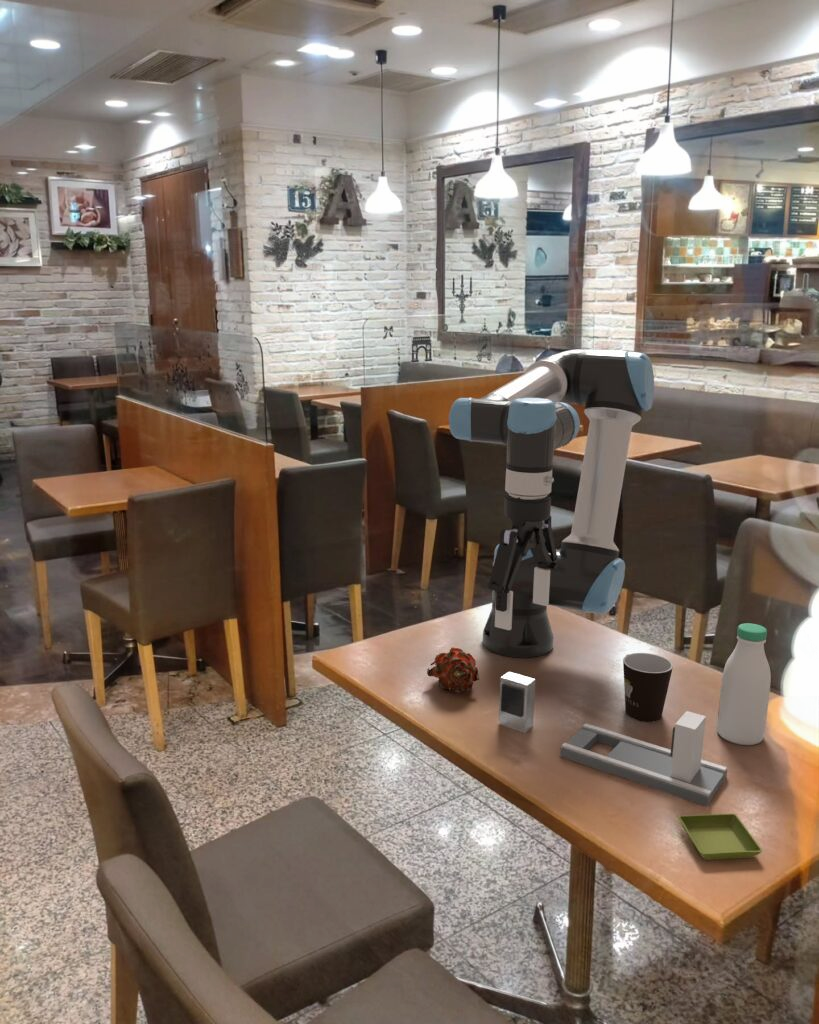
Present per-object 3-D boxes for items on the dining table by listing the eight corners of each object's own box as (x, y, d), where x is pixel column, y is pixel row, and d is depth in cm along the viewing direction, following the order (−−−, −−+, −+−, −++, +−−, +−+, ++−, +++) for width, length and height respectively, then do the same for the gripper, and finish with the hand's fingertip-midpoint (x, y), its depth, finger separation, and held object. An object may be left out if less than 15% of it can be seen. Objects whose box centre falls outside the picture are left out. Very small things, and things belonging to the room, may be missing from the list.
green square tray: (762, 864, 118) (764, 851, 118) (699, 867, 118) (701, 853, 117) (733, 825, 127) (735, 813, 126) (675, 828, 126) (676, 815, 125)
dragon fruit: (467, 710, 162) (436, 693, 173) (497, 677, 165) (465, 662, 176) (442, 680, 159) (412, 664, 170) (473, 646, 162) (441, 633, 172)
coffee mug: (669, 727, 154) (675, 675, 151) (619, 722, 155) (623, 670, 153) (664, 697, 165) (669, 648, 162) (618, 693, 167) (621, 644, 164)
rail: (585, 732, 152) (589, 676, 149) (726, 776, 139) (733, 716, 136) (560, 756, 144) (563, 698, 141) (706, 806, 131) (713, 743, 128)
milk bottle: (772, 744, 148) (787, 635, 143) (730, 748, 147) (743, 637, 142) (748, 722, 156) (761, 617, 151) (708, 725, 155) (719, 620, 149)
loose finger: (532, 726, 154) (535, 679, 152) (523, 734, 151) (525, 686, 149) (506, 717, 157) (508, 671, 154) (497, 725, 154) (499, 678, 152)
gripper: (512, 513, 131) (506, 644, 137) (581, 483, 151) (573, 599, 156) (469, 505, 135) (465, 633, 141) (541, 477, 155) (535, 590, 161)
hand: (522, 615), depth 149 cm, fingers open, 13 cm apart
